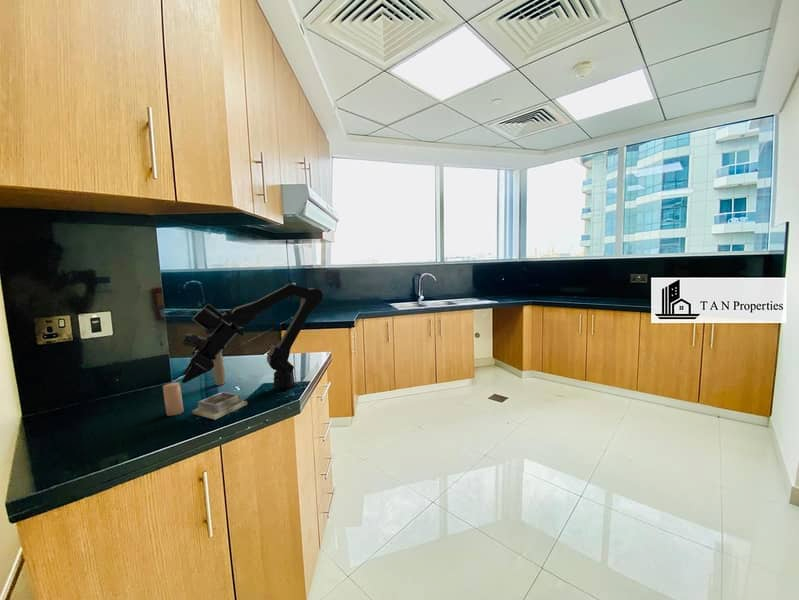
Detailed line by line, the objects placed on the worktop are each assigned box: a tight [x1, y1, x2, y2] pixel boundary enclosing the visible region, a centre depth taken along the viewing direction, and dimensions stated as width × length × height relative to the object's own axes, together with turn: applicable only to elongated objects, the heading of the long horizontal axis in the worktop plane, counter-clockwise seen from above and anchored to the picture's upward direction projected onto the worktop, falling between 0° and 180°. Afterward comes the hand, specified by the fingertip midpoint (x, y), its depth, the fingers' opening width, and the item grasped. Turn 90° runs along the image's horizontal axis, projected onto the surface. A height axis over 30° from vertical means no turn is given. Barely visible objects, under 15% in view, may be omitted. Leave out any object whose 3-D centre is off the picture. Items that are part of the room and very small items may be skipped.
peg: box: [162, 381, 185, 417], centre depth 102 cm, size 4×4×9 cm
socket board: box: [191, 391, 248, 420], centre depth 103 cm, size 11×11×4 cm
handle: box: [212, 345, 227, 386], centre depth 125 cm, size 5×6×15 cm
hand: (183, 378), depth 103 cm, fingers open, 9 cm apart
